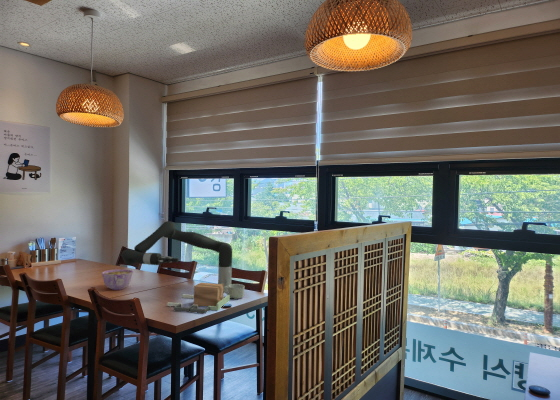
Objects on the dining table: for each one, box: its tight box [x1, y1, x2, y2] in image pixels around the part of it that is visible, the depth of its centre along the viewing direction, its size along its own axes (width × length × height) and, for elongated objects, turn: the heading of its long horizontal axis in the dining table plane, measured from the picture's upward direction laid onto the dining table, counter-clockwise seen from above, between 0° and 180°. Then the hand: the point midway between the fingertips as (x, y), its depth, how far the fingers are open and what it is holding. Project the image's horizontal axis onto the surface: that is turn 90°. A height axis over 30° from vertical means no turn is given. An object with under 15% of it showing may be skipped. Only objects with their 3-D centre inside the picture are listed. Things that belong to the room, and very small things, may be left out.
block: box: [193, 282, 224, 308], centre depth 236 cm, size 10×15×12 cm, turn 79°
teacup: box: [223, 283, 245, 300], centre depth 252 cm, size 14×11×8 cm
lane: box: [166, 293, 231, 314], centre depth 233 cm, size 28×32×4 cm
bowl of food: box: [101, 268, 134, 291], centre depth 269 cm, size 20×20×12 cm
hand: (177, 260), depth 239 cm, fingers closed
